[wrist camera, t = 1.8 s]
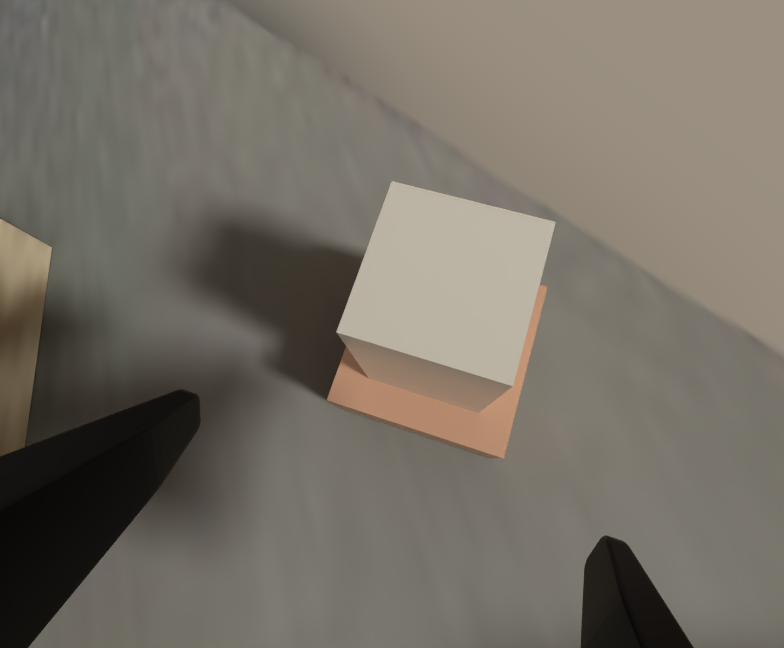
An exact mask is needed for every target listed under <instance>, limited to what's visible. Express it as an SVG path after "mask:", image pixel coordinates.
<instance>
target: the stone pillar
mask: <svg viewBox="0 0 784 648" xmlns="http://www.w3.org/2000/svg"><path fill="white" fill-rule="evenodd" d="M555 223H556V222H554V221H550V220H546V219H542V218H538V217H534V216H530V215H526V214H522V213H518V212H514V211H509V210H505V209H501V208H497V207H493V206H489V205H485V204H481V203H477V202H473V201H469V200H465V199H461V198H457V197H453V196H449V195H445V194H441V193H437V192H433V191H429V190H425V189H421V188H417V187H413V186H409V185H405V184H401V183H397V182H393V181H392V183H391V185H390V188H389V191H388V193H387V196H386V199H385V202H384V204H383V207H382V210H381V212H380V215H379V218H378V221H377V223H376V226H375V229H374V231H373V234H372V237H371V240H370V242H369V245H368V248H367V250H366V253H365V256H364V259H363V261H362V264H361V267H360V269H359V272H358V275H357V278H356V280H355V283H354V286H353V288H352V291H351V294H350V297H349V299H348V302H347V305H346V307H345V310H344V313H343V316H342V318H341V321H340V324H339V326H338V329H337V332H336V333H337V334H338V335H339V337H340V338H341V340H342V341H343V342H344V344H345V345H346V347H347V348H348V350H349V351H350V352H351V354H352V355H353V357H354V358H355V359H356V361H357V362H358V364H359V365H360V367H361V368H362V369H363V371H364V372H365V374H366V375H367V376H368V378H369V379H372V380H375V381H379V382H382V383H385V384H388V385H391V386H394V387H397V388H400V389H404V390H407V391H410V392H413V393H416V394H419V395H422V396H426V397H429V398H432V399H435V400H438V401H441V402H444V403H448V404H451V405H454V406H457V407H460V408H463V409H466V410H470V411H473V412H476V413H480V412H481V411H482V410H483V409H485V408H486V407H487V406H489V405H490V404H491V403H492V402H494V401H495V400H496V399H498V398H499V397H500V396H501V395H503V394H504V393H505V392H506V391H508V390H509V389H510V388H512V387H513V385H514V381H515V377H516V373H517V369H518V365H519V362H520V358H521V354H522V350H523V346H524V342H525V338H526V335H527V331H528V327H529V323H530V319H531V315H532V311H533V308H534V304H535V300H536V296H537V292H538V288H539V284H540V281H541V277H542V273H543V269H544V265H545V261H546V257H547V254H548V250H549V246H550V242H551V238H552V234H553V230H554V227H555Z"/></svg>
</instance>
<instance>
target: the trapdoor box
mask: <svg viewBox="0 0 784 648" xmlns="http://www.w3.org/2000/svg"><path fill="white" fill-rule="evenodd" d="M51 251H52V247H50V246H48V245H46V244H45V243H43V242H41V241H39V240H37V239H36V238H34V237H32V236H30V235H28V234H27V233H25V232H23V231H21V230H20V229H18V228H16V227H14V226H12V225H11V224H9V223H7V222H5V221H3V220H2V219H0V456H2V455H5V454H7V453H10V452H13V451H15V450H18V449H21V448H23V447H25V442H26V435H27V428H28V420H29V413H30V406H31V398H32V391H33V384H34V376H35V369H36V361H37V354H38V347H39V339H40V332H41V325H42V317H43V310H44V303H45V295H46V288H47V280H48V273H49V266H50V258H51Z"/></svg>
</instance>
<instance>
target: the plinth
mask: <svg viewBox="0 0 784 648" xmlns="http://www.w3.org/2000/svg"><path fill="white" fill-rule="evenodd" d="M546 290H547V287H546V286H542V285H539V288H538V292H537V296H536V300H535V304H534V308H533V311H532V315H531V319H530V323H529V327H528V331H527V335H526V338H525V342H524V346H523V350H522V354H521V358H520V362H519V365H518V369H517V373H516V377H515V381H514V385H513V387H512V388H510V389H509V390H508V391H506V392H505V393H504V394H503V395H501V396H500V397H499V398H498V399H496V400H495V401H494V402H492V403H491V404H490V405H489V406H487V407H486V408H485V409H483V410H482V411H481V412H480V413H476V412H473V411H470V410H466V409H463V408H460V407H457V406H454V405H451V404H448V403H444V402H441V401H438V400H435V399H432V398H429V397H426V396H422V395H419V394H416V393H413V392H410V391H407V390H404V389H400V388H397V387H394V386H391V385H388V384H385V383H382V382H379V381H375V380H372V379H369V378H368V376H367V375H366V374H365V372H364V371H363V369H362V368H361V367H360V365H359V364H358V362H357V361H356V359H355V358H354V357H353V355H352V354H351V352H350V351H349V350H348V348H347V347H346V348H345V351H344V353H343V356H342V359H341V362H340V365H339V367H338V370H337V373H336V376H335V378H334V381H333V384H332V387H331V390H330V392H329V395H328V398H327V401H329V402H331V403H333V404H334V405H336V406H338V407H339V408H341V409H343V410H345V411H348V412H351V413H354V414H357V415H360V416H363V417H366V418H369V419H372V420H375V421H378V422H381V423H384V424H387V425H391V426H394V427H397V428H400V429H403V430H406V431H409V432H412V433H415V434H418V435H421V436H424V437H427V438H430V439H433V440H436V441H439V442H442V443H445V444H448V445H451V446H454V447H457V448H460V449H463V450H466V451H469V452H472V453H475V454H478V455H481V456H484V457H487V458H501V459H504V455H505V452H506V448H507V444H508V440H509V436H510V432H511V428H512V424H513V420H514V416H515V412H516V408H517V404H518V400H519V397H520V393H521V389H522V385H523V381H524V377H525V373H526V369H527V365H528V361H529V357H530V353H531V349H532V345H533V342H534V338H535V334H536V330H537V326H538V322H539V318H540V314H541V310H542V306H543V302H544V298H545V294H546Z"/></svg>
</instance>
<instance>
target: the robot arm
mask: <svg viewBox="0 0 784 648" xmlns="http://www.w3.org/2000/svg"><path fill="white" fill-rule="evenodd" d="M199 426H200V402H199V397H198V395H197V394H195V393H192V392H189V391H186V390H183V389H180V390H176V391H174V392H171V393H168V394H166V395H163V396H160V397H158V398H155V399H152V400H149V401H147V402H144V403H141V404H139V405H136V406H133V407H131V408H128V409H125V410H123V411H120V412H117V413H115V414H112V415H109V416H107V417H104V418H101V419H99V420H96V421H93V422H90V423H88V424H85V425H82V426H80V427H77V428H74V429H72V430H69V431H66V432H64V433H61V434H58V435H56V436H53V437H50V438H48V439H45V440H42V441H40V442H37V443H34V444H32V445H29V446H26V447H23V448H21V449H18V450H15V451H13V452H10V453H7V454H5V455H2V456H0V648H28V647H29V646H30V645H31V643H32V642H33V641H34V640H35V639H36V637H37V636H38V635H39V634H40V632H41V631H42V630H43V629H44V628H45V626H46V625H47V624H48V623H49V622H50V620H51V619H52V618H53V617H54V615H55V614H56V613H57V612H58V611H59V609H60V608H61V607H62V606H63V605H64V603H65V602H66V601H67V600H68V598H69V597H70V596H71V595H72V594H73V592H74V591H75V590H76V589H77V587H78V586H79V585H80V584H81V583H82V581H83V580H84V579H85V578H86V577H87V575H88V574H89V573H90V572H91V570H92V569H93V568H94V567H95V566H96V564H97V563H98V562H99V561H100V559H101V558H102V557H103V556H104V555H105V553H106V552H107V551H108V550H109V549H110V547H111V546H112V545H113V544H114V542H115V541H116V540H117V539H118V538H119V536H120V535H121V534H122V533H123V531H124V530H125V529H126V528H127V527H128V525H129V524H130V523H131V522H132V521H133V519H134V518H135V517H136V516H137V514H138V513H139V512H140V511H141V510H142V508H143V507H144V506H145V505H146V503H147V502H148V501H149V500H150V499H151V497H152V496H153V495H154V494H155V492H156V491H157V490H158V488H159V487H160V486H161V484H162V483H163V481H164V480H165V479H166V477H167V476H168V474H169V473H170V471H171V470H172V468H173V467H174V465H175V464H176V462H177V461H178V459H179V458H180V456H181V455H182V453H183V452H184V450H185V449H186V447H187V446H188V444H189V443H190V441H191V440H192V438H193V437H194V435H195V434H196V432H197V430H198V428H199ZM581 648H694V647H693V646H692V644H691V643H690V641H689V640H688V638H687V636H686V635H685V633H684V632H683V630H682V629H681V627H680V625H679V624H678V622H677V621H676V619H675V618H674V616H673V615H672V613H671V611H670V610H669V608H668V607H667V605H666V604H665V602H664V600H663V599H662V597H661V596H660V594H659V593H658V591H657V589H656V588H655V586H654V585H653V583H652V582H651V580H650V579H649V577H648V575H647V574H646V572H645V571H644V569H643V568H642V566H641V564H640V563H639V561H638V560H637V558H636V557H635V555H634V553H633V552H632V550H631V549H630V547H629V546H628V545H627V544H626V543H625V542H624V541H621V540H618V539H615V538H613V537H610V536H603V537H602V538H601V539H600V540H599V542H598V543H597V545H596V546H595V548H594V549H593V551H592V552H591V554H590V555H589V557H588V558H587V560H586V564H585V569H584V587H583V608H582V629H581Z"/></svg>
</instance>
